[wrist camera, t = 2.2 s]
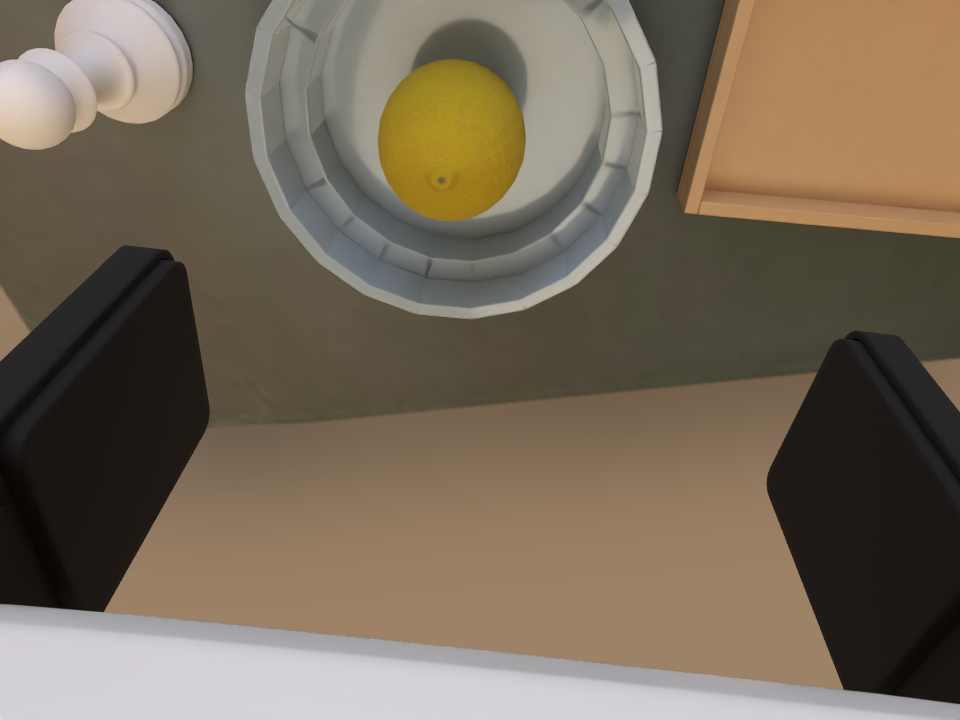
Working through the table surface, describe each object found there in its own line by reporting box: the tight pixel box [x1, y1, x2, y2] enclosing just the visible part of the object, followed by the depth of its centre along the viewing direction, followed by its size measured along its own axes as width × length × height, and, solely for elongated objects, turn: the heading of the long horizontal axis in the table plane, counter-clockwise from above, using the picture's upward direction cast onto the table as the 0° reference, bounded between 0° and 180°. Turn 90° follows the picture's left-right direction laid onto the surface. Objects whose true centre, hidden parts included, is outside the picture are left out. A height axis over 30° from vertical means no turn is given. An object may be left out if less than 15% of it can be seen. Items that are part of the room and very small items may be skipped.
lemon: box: [378, 59, 526, 221], centre depth 26 cm, size 6×6×8 cm
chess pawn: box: [0, 0, 193, 150], centre depth 25 cm, size 5×5×9 cm
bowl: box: [245, 0, 663, 319], centre depth 27 cm, size 15×15×5 cm
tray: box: [677, 0, 960, 238], centre depth 27 cm, size 16×12×2 cm
